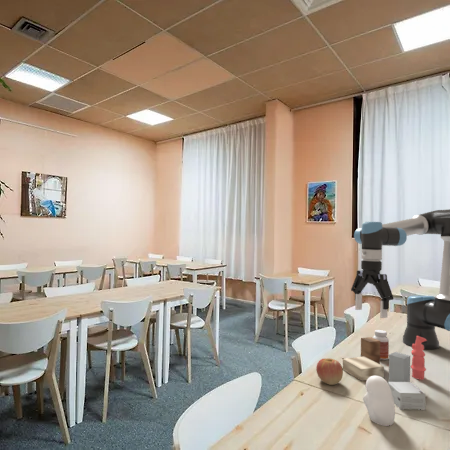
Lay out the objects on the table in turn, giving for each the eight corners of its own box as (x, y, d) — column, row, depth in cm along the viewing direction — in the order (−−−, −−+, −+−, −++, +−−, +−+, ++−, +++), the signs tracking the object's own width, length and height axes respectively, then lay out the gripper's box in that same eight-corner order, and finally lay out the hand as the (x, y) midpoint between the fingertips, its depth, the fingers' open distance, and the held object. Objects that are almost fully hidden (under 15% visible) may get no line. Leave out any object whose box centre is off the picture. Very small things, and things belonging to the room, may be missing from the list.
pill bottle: (391, 358, 140) (392, 332, 141) (383, 361, 137) (383, 334, 137) (377, 354, 146) (378, 328, 146) (369, 356, 142) (369, 330, 143)
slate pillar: (395, 379, 120) (395, 351, 120) (410, 384, 116) (410, 355, 116) (388, 383, 117) (389, 354, 117) (403, 388, 113) (404, 358, 113)
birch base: (363, 366, 131) (364, 356, 131) (383, 377, 122) (383, 366, 122) (342, 369, 128) (342, 358, 128) (361, 380, 118) (361, 369, 118)
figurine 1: (360, 413, 97) (361, 371, 97) (385, 412, 97) (386, 370, 97) (373, 427, 89) (374, 382, 90) (400, 426, 90) (401, 381, 90)
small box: (387, 397, 107) (387, 381, 107) (411, 397, 107) (411, 381, 107) (399, 410, 99) (399, 392, 99) (426, 410, 99) (426, 393, 99)
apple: (329, 390, 110) (329, 365, 111) (310, 379, 118) (311, 356, 118) (348, 385, 114) (348, 361, 115) (329, 375, 122) (329, 353, 122)
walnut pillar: (370, 361, 137) (370, 337, 137) (379, 366, 132) (380, 340, 132) (360, 363, 135) (360, 338, 135) (369, 367, 130) (370, 341, 130)
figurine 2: (424, 375, 124) (425, 334, 124) (428, 381, 119) (428, 338, 120) (409, 373, 126) (409, 333, 126) (411, 378, 121) (412, 337, 121)
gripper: (343, 257, 145) (342, 307, 144) (388, 263, 121) (387, 322, 121) (357, 257, 147) (356, 306, 147) (404, 263, 124) (403, 320, 123)
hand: (370, 313), depth 134 cm, fingers open, 13 cm apart
